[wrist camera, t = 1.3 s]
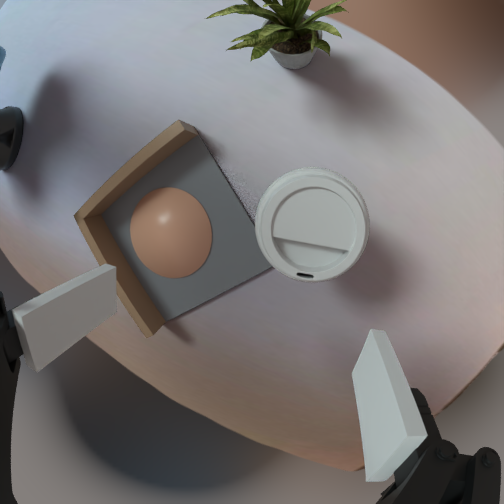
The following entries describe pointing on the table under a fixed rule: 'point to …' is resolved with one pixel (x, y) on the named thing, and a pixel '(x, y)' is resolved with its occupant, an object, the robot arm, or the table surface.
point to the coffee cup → (312, 224)
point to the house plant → (285, 31)
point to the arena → (170, 229)
